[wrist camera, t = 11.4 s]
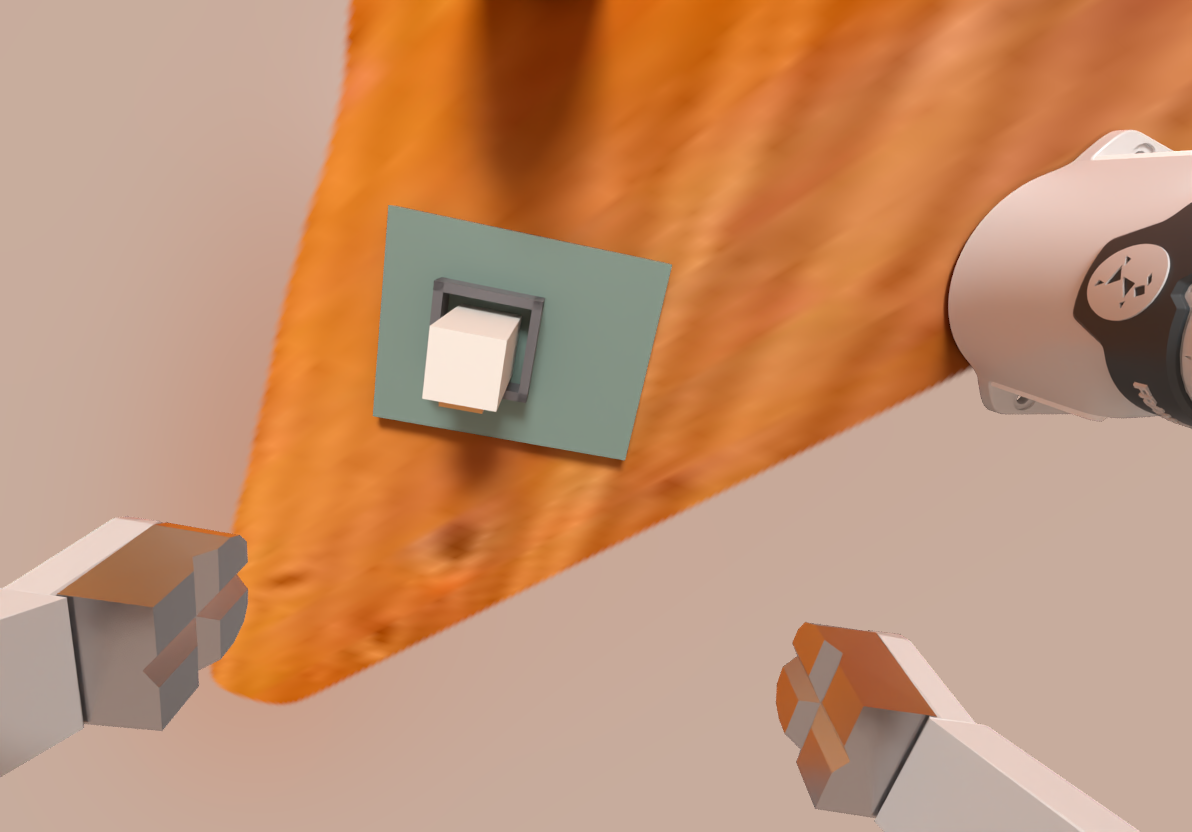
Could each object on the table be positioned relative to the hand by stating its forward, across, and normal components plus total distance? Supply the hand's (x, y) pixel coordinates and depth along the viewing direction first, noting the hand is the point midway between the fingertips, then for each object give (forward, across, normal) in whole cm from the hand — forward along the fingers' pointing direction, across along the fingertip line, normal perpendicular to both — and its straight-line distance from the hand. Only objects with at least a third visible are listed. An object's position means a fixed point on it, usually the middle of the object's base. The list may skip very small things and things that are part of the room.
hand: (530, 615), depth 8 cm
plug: (+30, +5, +3) cm, 30 cm away
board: (+31, +3, +3) cm, 31 cm away
